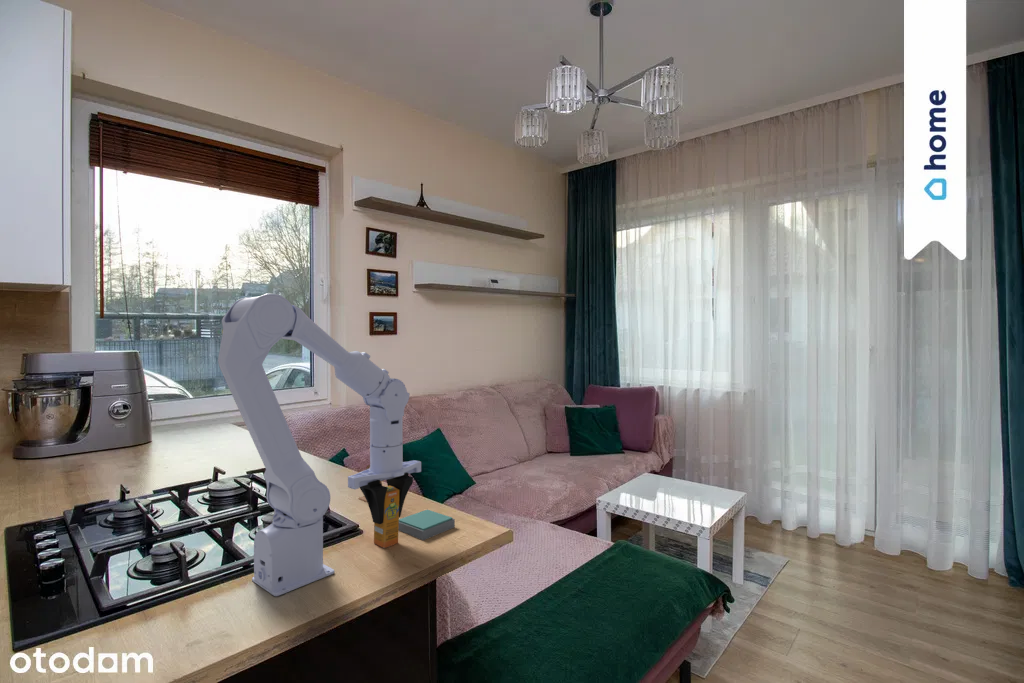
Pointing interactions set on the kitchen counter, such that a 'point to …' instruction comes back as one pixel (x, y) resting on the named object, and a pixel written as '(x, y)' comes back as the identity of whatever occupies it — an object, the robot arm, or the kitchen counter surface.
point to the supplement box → (388, 520)
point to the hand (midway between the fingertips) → (386, 519)
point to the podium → (426, 524)
